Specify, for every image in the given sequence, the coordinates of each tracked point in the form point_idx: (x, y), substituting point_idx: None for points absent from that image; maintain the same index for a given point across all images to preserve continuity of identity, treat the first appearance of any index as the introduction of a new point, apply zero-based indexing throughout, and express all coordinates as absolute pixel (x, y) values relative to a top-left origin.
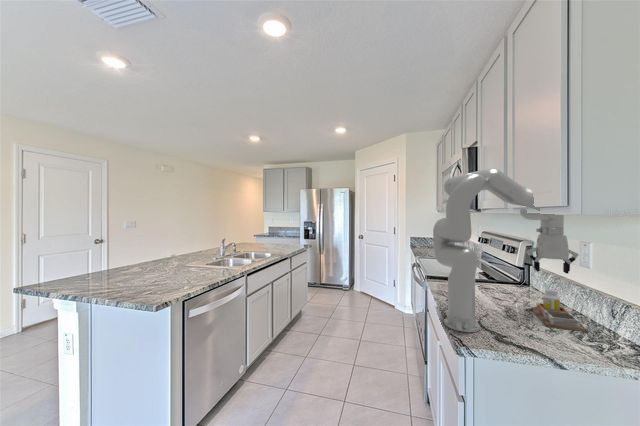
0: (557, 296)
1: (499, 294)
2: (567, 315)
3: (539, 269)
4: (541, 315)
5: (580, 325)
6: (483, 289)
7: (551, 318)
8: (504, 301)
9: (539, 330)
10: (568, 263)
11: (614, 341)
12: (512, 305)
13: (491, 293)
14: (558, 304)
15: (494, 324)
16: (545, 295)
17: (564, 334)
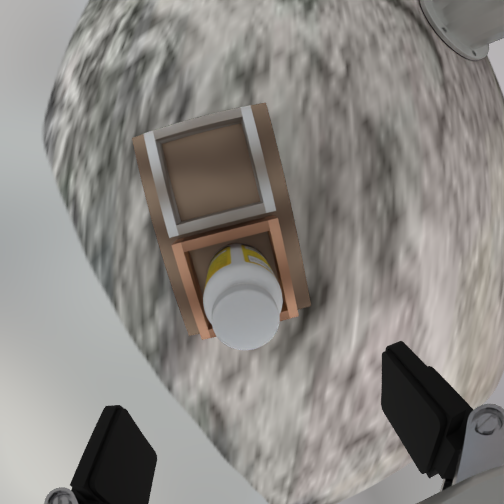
0: (212, 299)
1: None
2: (180, 223)
3: (393, 359)
4: (278, 208)
5: (146, 165)
6: None
7: (248, 107)
8: None
9: (286, 56)
10: (71, 495)
11: (79, 108)
12: (368, 317)
13: None
14: (210, 269)
15: (406, 53)
16: (274, 288)
17: (209, 64)
